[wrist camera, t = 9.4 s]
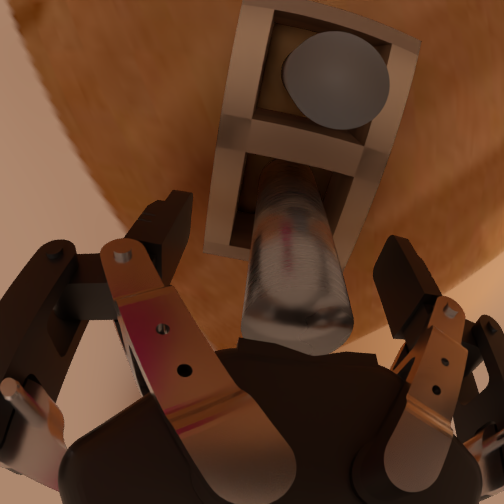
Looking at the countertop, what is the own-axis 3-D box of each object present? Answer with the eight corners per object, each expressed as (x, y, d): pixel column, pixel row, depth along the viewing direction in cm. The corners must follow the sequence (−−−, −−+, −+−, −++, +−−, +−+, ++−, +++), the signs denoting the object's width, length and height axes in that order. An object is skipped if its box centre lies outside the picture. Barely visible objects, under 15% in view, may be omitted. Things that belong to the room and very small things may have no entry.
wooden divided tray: (251, 6, 10) (235, -35, 5) (391, 44, 11) (461, 39, 5) (214, 217, 17) (188, 294, 12) (330, 240, 18) (350, 321, 12)
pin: (265, 151, 15) (252, 278, 7) (320, 164, 15) (372, 298, 7) (254, 202, 17) (233, 353, 8) (306, 212, 17) (329, 365, 9)
